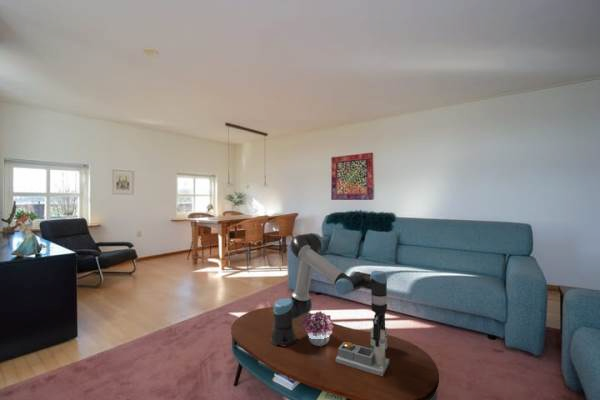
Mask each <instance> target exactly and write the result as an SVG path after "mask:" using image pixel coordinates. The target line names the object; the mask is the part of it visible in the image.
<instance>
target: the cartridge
mask: <svg viewBox="0 0 600 400" xmlns="http://www.w3.org/2000/svg"><path fill="white" fill-rule="evenodd" d="M380 339H381V353H376V352H375V340H374V363H375V364H376V365H378V366H384V365H385V358H386V349H385V331H384V330H383V329H381V330H380Z"/></svg>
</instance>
